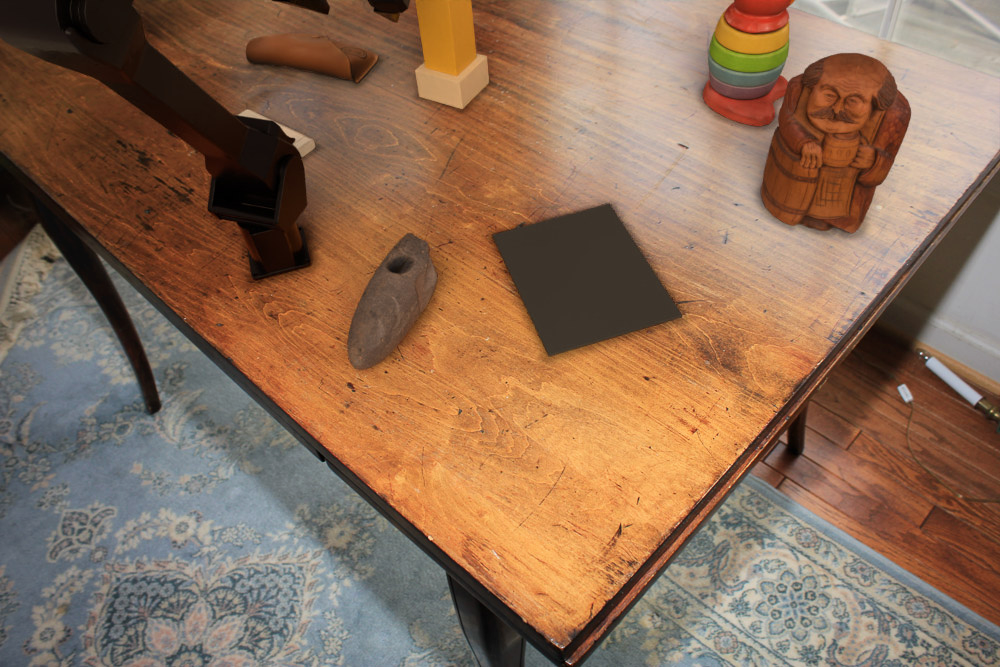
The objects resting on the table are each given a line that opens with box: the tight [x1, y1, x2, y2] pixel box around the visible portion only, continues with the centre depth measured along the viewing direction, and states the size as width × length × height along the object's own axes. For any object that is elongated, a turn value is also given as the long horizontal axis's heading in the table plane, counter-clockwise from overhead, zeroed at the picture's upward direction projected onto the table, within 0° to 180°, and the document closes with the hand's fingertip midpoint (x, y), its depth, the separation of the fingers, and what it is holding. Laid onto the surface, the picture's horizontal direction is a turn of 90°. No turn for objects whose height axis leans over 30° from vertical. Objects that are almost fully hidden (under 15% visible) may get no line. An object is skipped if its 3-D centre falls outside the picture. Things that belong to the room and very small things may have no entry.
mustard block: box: [414, 0, 477, 76], centre depth 95 cm, size 5×5×10 cm
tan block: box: [414, 52, 490, 110], centre depth 100 cm, size 7×7×4 cm
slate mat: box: [492, 203, 683, 358], centre depth 78 cm, size 18×14×1 cm
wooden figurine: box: [760, 52, 912, 234], centre depth 75 cm, size 12×6×18 cm, turn 67°
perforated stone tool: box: [346, 232, 439, 371], centre depth 72 cm, size 15×5×7 cm, turn 155°
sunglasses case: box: [245, 32, 380, 84], centre depth 107 cm, size 18×7×7 cm
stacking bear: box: [702, 0, 796, 127], centre depth 89 cm, size 11×10×18 cm
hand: (362, 14), depth 89 cm, fingers open, 9 cm apart
